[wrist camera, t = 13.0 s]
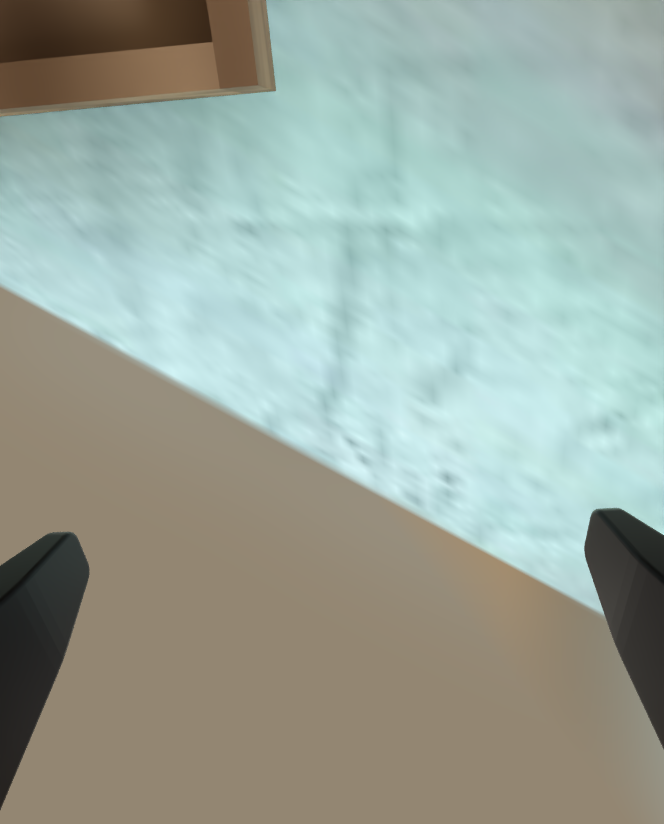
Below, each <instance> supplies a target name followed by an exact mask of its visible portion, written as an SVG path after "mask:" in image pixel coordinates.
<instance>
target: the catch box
mask: <svg viewBox="0 0 664 824" xmlns="http://www.w3.org/2000/svg"><path fill="white" fill-rule="evenodd" d="M269 91H276V87H275V78H274V69H273V60H272V51H271V42H270V33H269V24H268V15H267V6H266V0H0V116H11V115H21V114H32V113H43V112H54V111H64V110H75V109H86V108H97V107H107V106H118V105H129V104H140V103H151V102H161V101H172V100H183V99H194V98H204V97H215V96H226V95H237V94H247V93H258V92H269Z"/></svg>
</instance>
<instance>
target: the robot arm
mask: <svg viewBox="0 0 664 824" xmlns="http://www.w3.org/2000/svg"><path fill="white" fill-rule="evenodd" d="M584 551H585V557H586V561H587V564H588V567H589V570H590V573H591V576H592V579H593V582H594V585H595V588H596V591H597V593H598V596H599V599H600V602H601V605H602V608H603V611H604V614H605V617H606V620H607V623H608V626H609V629H610V632H611V634H612V637H613V640H614V642H615V645H616V647H617V650H618V652H619V654H620V657H621V659H622V661H623V663H624V665H625V667H626V669H627V671H628V674H629V676H630V678H631V680H632V682H633V684H634V687H635V689H636V691H637V693H638V695H639V697H640V700H641V702H642V704H643V706H644V708H645V710H646V712H647V715H648V717H649V719H650V721H651V723H652V725H653V727H654V729H655V732H656V734H657V736H658V738H659V740H660V743H661V744H662V747H663V749H664V535H663V534H661V533H659V532H658V531H656V530H654V529H653V528H651V527H650V526H648V525H646V524H645V523H643V522H642V521H640V520H638V519H637V518H635V517H634V516H632V515H630V514H629V513H627V512H626V511H624V510H622V509H619V508H603V509H596V510H594V511H593V512H592V514H591V517H590V522H589V526H588V531H587V536H586V541H585V546H584ZM88 578H89V565H88V562H87V559H86V557H85V555H84V552H83V550H82V547H81V545H80V542H79V540H78V538H77V536H76V535H75V534H74V533H72V532H53V533H49V534H47V535H45V536H44V537H42V538H41V539H39V540H38V541H36V542H35V543H33V544H32V545H30V546H29V547H27V548H26V549H25V550H23V551H21V552H20V553H18V554H17V555H16V556H14V557H12V558H11V559H9V560H8V561H6V562H5V563H4V564H2V565H1V566H0V810H1V807H2V805H3V802H4V800H5V798H6V795H7V793H8V791H9V788H10V786H11V784H12V781H13V779H14V776H15V774H16V772H17V769H18V767H19V765H20V762H21V760H22V757H23V755H24V753H25V750H26V748H27V746H28V743H29V741H30V738H31V736H32V734H33V731H34V729H35V727H36V724H37V722H38V719H39V717H40V715H41V712H42V710H43V708H44V705H45V703H46V700H47V698H48V696H49V693H50V691H51V689H52V686H53V684H54V681H55V679H56V677H57V674H58V672H59V669H60V667H61V664H62V662H63V659H64V656H65V653H66V650H67V647H68V644H69V641H70V638H71V634H72V631H73V628H74V624H75V621H76V618H77V615H78V612H79V608H80V605H81V602H82V599H83V595H84V592H85V589H86V585H87V582H88Z"/></svg>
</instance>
